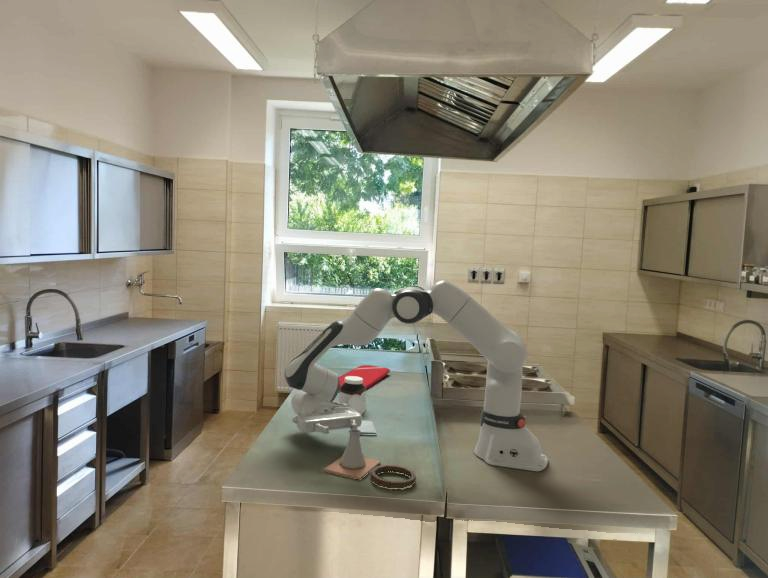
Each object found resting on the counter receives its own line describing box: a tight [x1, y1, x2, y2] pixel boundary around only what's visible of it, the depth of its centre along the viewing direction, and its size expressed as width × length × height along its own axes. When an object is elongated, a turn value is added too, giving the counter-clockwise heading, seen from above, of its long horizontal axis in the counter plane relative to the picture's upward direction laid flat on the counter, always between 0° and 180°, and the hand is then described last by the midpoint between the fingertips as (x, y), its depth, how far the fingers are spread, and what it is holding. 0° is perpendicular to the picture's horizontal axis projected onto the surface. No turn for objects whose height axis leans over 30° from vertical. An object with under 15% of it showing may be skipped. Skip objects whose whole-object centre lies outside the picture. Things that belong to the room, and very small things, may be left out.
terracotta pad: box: [323, 456, 381, 481], centre depth 175 cm, size 11×14×1 cm
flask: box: [339, 429, 366, 469], centre depth 175 cm, size 7×7×10 cm
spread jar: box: [338, 376, 367, 415], centre depth 228 cm, size 12×11×12 cm
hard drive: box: [357, 419, 378, 435], centre depth 209 cm, size 2×8×12 cm
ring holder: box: [370, 464, 417, 488], centre depth 168 cm, size 12×12×2 cm
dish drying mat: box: [338, 364, 391, 393], centre depth 271 cm, size 16×41×4 cm, turn 161°
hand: (341, 429), depth 181 cm, fingers open, 8 cm apart
